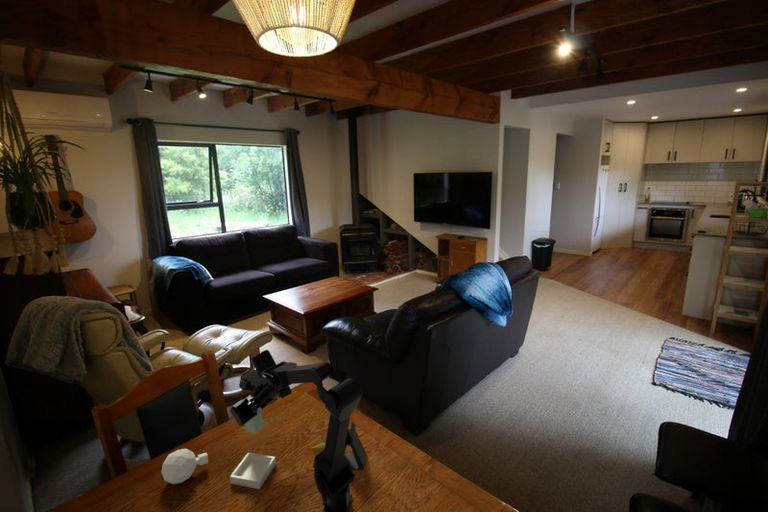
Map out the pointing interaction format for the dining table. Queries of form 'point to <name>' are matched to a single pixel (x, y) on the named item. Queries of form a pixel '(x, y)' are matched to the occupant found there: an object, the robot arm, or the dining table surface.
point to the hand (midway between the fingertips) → (249, 409)
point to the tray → (253, 470)
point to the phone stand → (354, 450)
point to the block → (255, 421)
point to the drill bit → (318, 448)
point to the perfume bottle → (181, 465)
